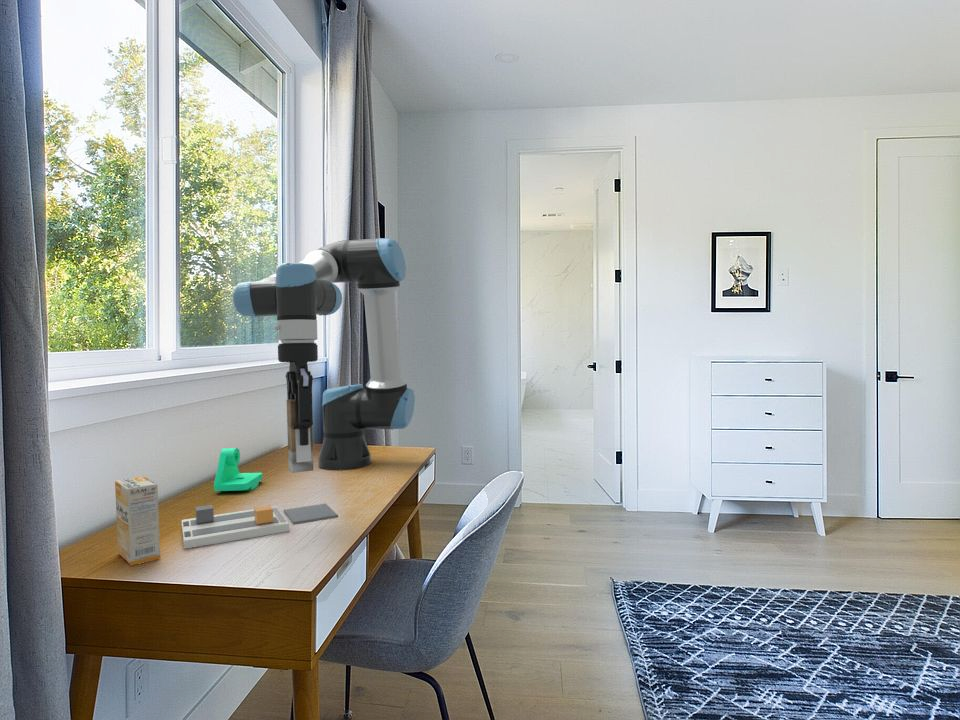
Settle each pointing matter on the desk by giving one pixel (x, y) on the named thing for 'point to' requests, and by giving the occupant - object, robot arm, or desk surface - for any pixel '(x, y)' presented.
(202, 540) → the switch board
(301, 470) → the wooden beam block
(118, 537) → the supplement box
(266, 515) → the tab
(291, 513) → the mat
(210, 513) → the tab
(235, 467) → the camera mount
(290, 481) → the desk surface
